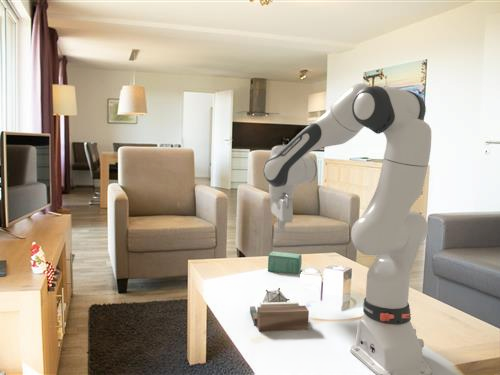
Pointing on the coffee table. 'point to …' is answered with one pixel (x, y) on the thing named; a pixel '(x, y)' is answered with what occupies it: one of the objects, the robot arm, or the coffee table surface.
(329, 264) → the coffee table surface
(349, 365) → the coffee table surface
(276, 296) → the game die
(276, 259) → the box
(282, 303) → the pad
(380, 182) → the robot arm
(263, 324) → the brown piece
